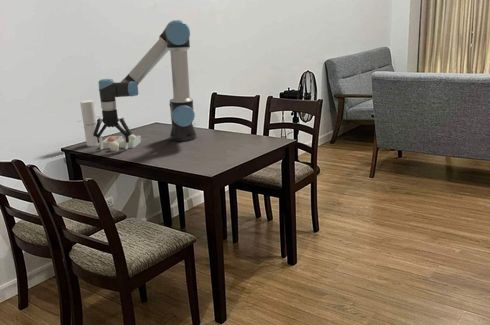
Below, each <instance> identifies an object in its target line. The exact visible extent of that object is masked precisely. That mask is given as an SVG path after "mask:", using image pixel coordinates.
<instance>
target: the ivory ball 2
mask: <svg viewBox="0 0 490 325" xmlns="http://www.w3.org/2000/svg"><path fill="white" fill-rule="evenodd" d="M136 136H137V135H135V134H133V133H132V134H131V135H130V136H129V141H133V140H135V139H136Z"/></svg>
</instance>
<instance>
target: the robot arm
mask: <svg viewBox="0 0 490 325" xmlns="http://www.w3.org/2000/svg"><path fill="white" fill-rule="evenodd" d="M190 37H191V29H190V27H189V26H188V24H187V23H186V22H185V21H183V20H180V19H175V20H171V21H170V22H168V24H166V26H165V28H164V30H163V31H162V32H161V34H160V35H159V36H158V39H157V41H156V42H155V44H154V45H153V46H152V47H151V48H150V49H149V50H148V51H147V52H146V54H144V56H143V57H142V58H141V59H140V60H139V62H137V64H136V65H135V66H134V67H133V68H132V69H131V70H130V72H128V74H127V75H126V76H125V77H124V78H123V79H122V80H121V81H119V82H115V81H114V79H113V78H102V79H99V80H98V82H97V83H98V91H99V98H100V108H101V114H102V118H98V119H97V118H96V119H97V125H96V128H95V131H94V134H93V136H95V137H97V141H98V143H99V144H100V145H99V149H100V150H101V151H102V150H104V149H103V136H102V134H103V133H104V131H105V130H106V129H107V128H116V129H117V130H118V131H119V132H120V133H121V134H122V135H123V136H124V137H123V139H124V144H125V148H124V149H125V150H128V149H129V148H128V142H129V136H130V135H131V134H133V133H132V131H131V129H130V128H129V127H128V126H129V125H127V123H126V121H125V118H124V117H121V118H118V115H119V114H118V109H117V99H116V98H121V97H123V98H124V97H126V98H127V97H136V96H138V95H139V84H140V83H141V82H142V81H143V80H144V79H145V78H146V76H147V75H148V74H150V72H151V71H152V70H153V69H154V67H156V65H157V64H158V63H159V62H160V60H162V59H163V58H164V57H165V55H166V54H167V53H168V52H170V66H171V78H172V79H171V80H172V93H173V94H172V95H173V96H172V97H173V98H170V100H169V103H168V104H169V109H170V120H171V121H170V122H171V129H170V134H169V139H170V141H172V142H188V141H193V140H195V139H197V136H198V134H197V131H196V128H195V126H194V125H193V122H194V120H195V117H196V116H195V115H196V114H195V112H194V99H193V98H192V97H191V94H190V76H189V75H190V74H189V61H188V58H189V57H188V50H189V49H190V47H191V45H190ZM102 123H103V125H102V127H101V124H102ZM100 127H101V129H100ZM99 130H100V131H99ZM97 133H98V134H97Z"/></svg>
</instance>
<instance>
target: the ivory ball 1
mask: <svg viewBox="0 0 490 325" xmlns="http://www.w3.org/2000/svg"><path fill="white" fill-rule="evenodd" d="M109 147H110V149H109V150H112V151H113V150H118V149H119V150H120V146H119V144H118V143H117V142H115V141H113V142H111V143H110V145H109ZM119 150H118V151H119Z"/></svg>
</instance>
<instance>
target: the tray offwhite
mask: <svg viewBox="0 0 490 325" xmlns="http://www.w3.org/2000/svg"><path fill="white" fill-rule="evenodd" d="M112 136H113V135H112ZM109 137H110V136H108V137H106V138H105V139H104V140H103V139H102V140H103V149H102V150H104V149H105V150H107V149H109V150H111V149H110V147H109V145H110V143H111V142H107V139H108V138H109ZM113 137H115V138H116V140H115V142H117V143H118V144H119V142H120V141H121V140H122V139H124V137H123V136H122V135H120V136H119V135H118V136H117V135H115V136H113Z"/></svg>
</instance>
